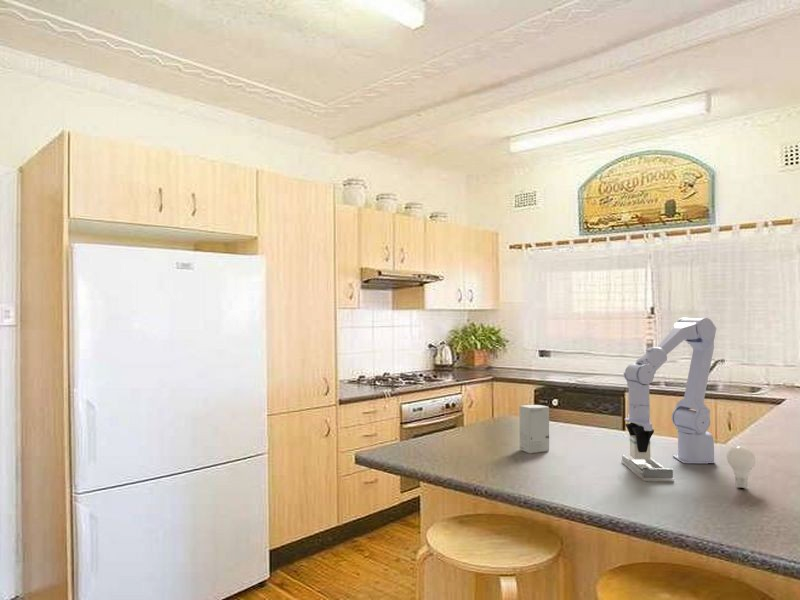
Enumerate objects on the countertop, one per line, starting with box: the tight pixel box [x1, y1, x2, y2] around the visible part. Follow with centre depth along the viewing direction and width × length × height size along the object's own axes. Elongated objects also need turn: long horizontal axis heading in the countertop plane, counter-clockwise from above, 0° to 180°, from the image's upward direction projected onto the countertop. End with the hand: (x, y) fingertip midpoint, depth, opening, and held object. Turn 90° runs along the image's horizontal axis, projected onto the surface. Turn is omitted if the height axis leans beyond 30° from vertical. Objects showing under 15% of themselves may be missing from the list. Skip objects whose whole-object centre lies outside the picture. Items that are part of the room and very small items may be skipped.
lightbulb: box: [726, 445, 756, 489], centre depth 143 cm, size 6×6×11 cm
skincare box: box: [518, 404, 550, 454], centre depth 182 cm, size 8×6×15 cm
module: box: [629, 434, 651, 460], centre depth 163 cm, size 5×4×6 cm
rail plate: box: [621, 454, 675, 482], centre depth 158 cm, size 8×18×3 cm, turn 176°
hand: (639, 449), depth 163 cm, fingers closed on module, 4 cm apart
